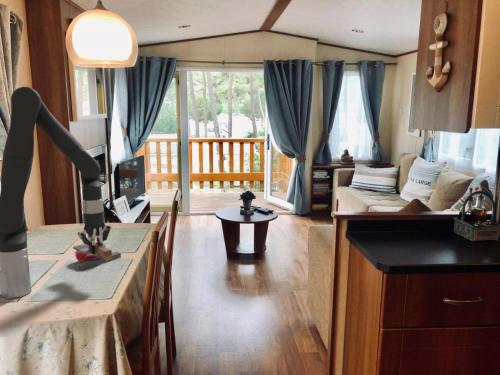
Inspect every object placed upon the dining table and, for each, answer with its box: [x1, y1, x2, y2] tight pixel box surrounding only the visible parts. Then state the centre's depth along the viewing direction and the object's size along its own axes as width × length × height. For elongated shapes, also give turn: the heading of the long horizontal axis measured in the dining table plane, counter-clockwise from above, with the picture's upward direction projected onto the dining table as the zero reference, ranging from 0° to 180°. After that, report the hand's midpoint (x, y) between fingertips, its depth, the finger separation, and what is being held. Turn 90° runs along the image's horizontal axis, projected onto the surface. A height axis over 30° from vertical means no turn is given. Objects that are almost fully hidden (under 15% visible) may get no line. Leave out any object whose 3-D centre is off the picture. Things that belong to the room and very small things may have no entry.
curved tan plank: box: [72, 243, 113, 261], centre depth 165 cm, size 20×6×4 cm, turn 53°
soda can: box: [75, 241, 107, 263], centre depth 185 cm, size 7×7×12 cm
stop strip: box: [76, 251, 122, 271], centre depth 185 cm, size 20×3×2 cm, turn 143°
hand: (96, 252), depth 164 cm, fingers closed on curved tan plank, 2 cm apart
